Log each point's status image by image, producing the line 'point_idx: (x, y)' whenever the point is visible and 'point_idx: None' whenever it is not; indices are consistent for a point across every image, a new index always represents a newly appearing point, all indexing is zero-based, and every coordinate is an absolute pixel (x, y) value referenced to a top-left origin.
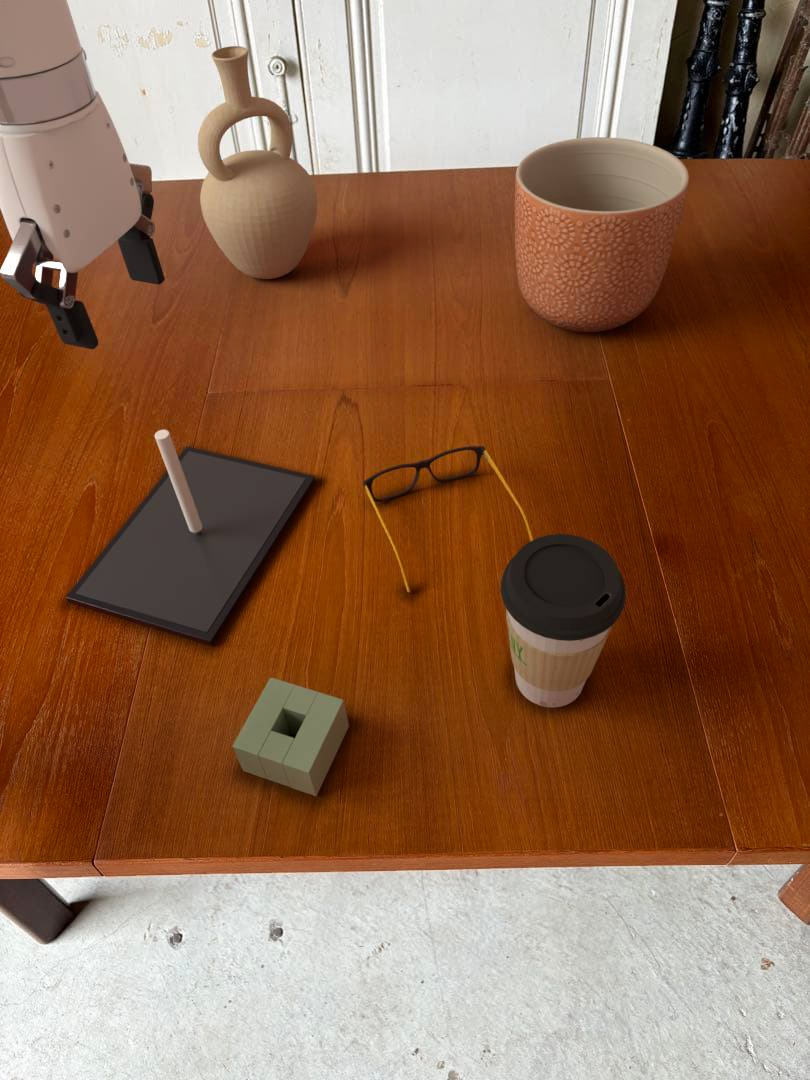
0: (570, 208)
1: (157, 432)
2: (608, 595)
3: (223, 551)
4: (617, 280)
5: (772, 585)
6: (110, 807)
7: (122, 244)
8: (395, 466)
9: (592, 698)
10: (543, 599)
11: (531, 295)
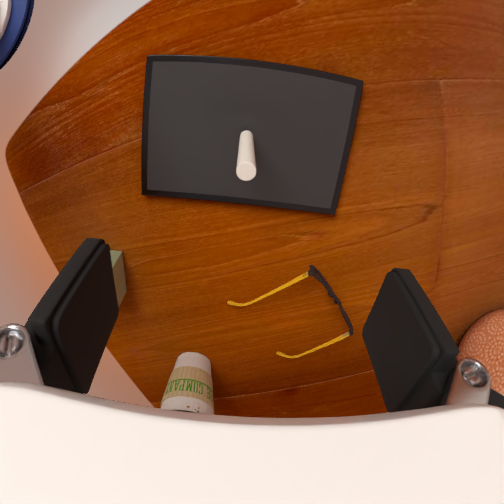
0: None
1: (248, 164)
2: None
3: (229, 167)
4: None
5: (271, 415)
6: (35, 186)
7: (424, 350)
8: (330, 291)
9: None
10: None
11: (486, 330)
